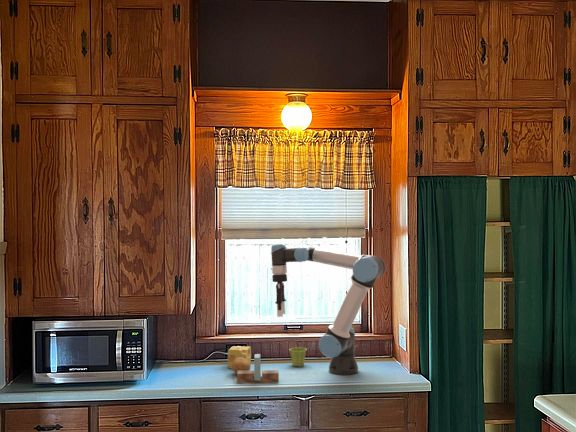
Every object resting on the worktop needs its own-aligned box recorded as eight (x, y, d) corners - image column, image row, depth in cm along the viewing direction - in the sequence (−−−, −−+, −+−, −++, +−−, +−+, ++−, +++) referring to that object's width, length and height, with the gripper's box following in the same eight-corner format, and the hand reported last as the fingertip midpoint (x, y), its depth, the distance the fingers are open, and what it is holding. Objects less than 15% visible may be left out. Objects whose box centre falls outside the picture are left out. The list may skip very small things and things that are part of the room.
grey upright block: (254, 376, 325) (254, 354, 324) (260, 376, 325) (260, 353, 325) (254, 380, 317) (254, 357, 316) (260, 380, 317) (260, 357, 317)
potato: (233, 378, 327) (233, 362, 327) (230, 371, 341) (230, 356, 341) (252, 377, 329) (252, 361, 329) (249, 370, 342) (249, 355, 342)
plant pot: (286, 364, 356) (286, 348, 356) (302, 362, 360) (302, 346, 360) (293, 368, 347) (293, 351, 347) (309, 366, 351) (309, 350, 351)
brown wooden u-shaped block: (278, 379, 324) (278, 370, 324) (278, 382, 318) (278, 373, 318) (237, 379, 324) (237, 370, 324) (237, 382, 318) (237, 373, 318)
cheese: (246, 369, 346) (246, 350, 346) (226, 368, 348) (226, 349, 348) (251, 364, 356) (251, 346, 356) (232, 363, 358) (232, 345, 358)
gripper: (274, 273, 353) (276, 313, 351) (269, 275, 328) (271, 318, 327) (288, 273, 352) (290, 312, 351) (284, 274, 327) (286, 317, 326)
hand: (281, 315), depth 339 cm, fingers open, 13 cm apart
